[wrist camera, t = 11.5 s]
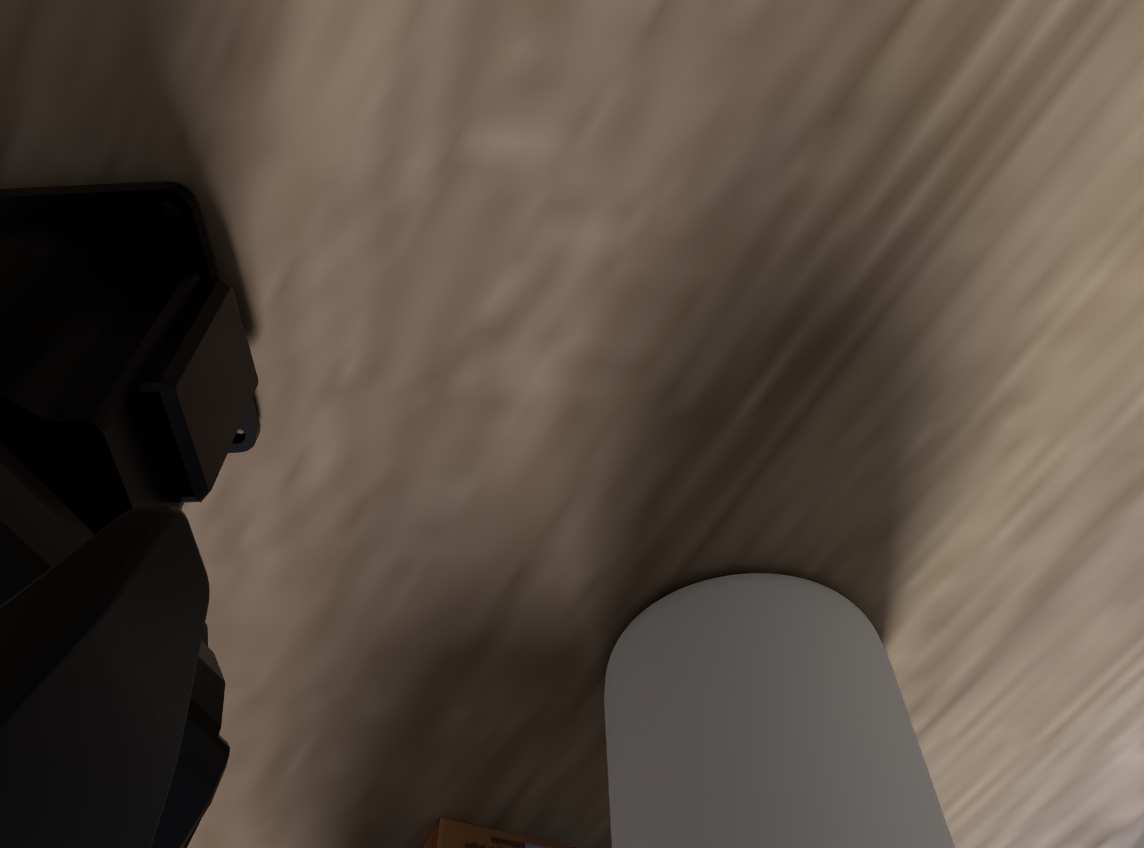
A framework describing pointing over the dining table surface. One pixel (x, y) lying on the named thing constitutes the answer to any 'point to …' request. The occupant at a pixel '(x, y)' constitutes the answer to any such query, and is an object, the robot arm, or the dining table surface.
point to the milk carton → (479, 837)
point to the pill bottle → (762, 725)
